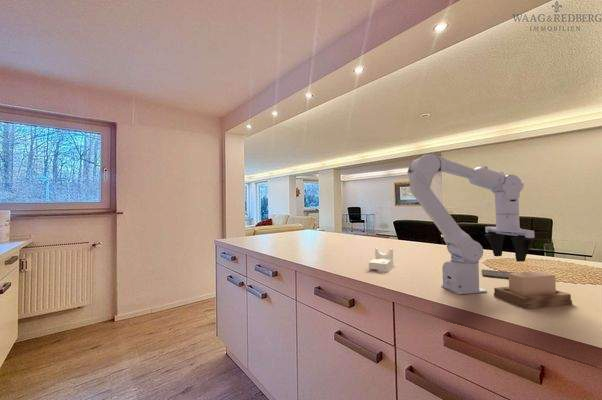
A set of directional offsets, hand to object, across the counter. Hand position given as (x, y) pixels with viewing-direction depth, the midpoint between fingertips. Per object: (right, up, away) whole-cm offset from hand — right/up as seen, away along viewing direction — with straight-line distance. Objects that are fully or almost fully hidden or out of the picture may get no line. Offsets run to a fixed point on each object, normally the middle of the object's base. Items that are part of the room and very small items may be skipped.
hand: (508, 258), depth 79 cm
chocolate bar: (+12, -10, +13) cm, 20 cm away
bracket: (-30, -11, +30) cm, 44 cm away
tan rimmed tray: (-1, -9, -9) cm, 13 cm away
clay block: (-1, -8, -9) cm, 12 cm away
